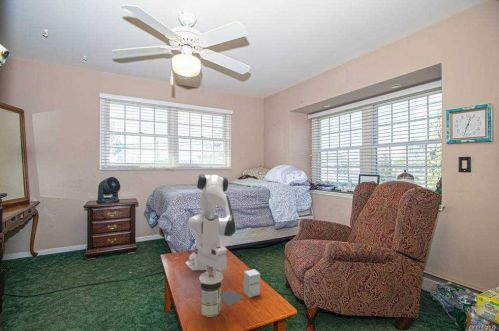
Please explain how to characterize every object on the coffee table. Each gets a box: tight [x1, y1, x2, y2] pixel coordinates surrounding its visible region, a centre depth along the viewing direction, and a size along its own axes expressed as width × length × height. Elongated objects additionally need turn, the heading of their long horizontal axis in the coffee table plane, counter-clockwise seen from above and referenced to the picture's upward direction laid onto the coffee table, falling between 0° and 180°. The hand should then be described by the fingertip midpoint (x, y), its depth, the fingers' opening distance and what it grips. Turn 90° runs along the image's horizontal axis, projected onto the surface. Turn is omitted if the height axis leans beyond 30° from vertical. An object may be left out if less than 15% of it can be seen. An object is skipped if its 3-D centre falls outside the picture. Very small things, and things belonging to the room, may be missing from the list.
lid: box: [198, 267, 224, 284], centre depth 123 cm, size 12×12×6 cm
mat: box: [221, 289, 245, 307], centre depth 135 cm, size 12×12×1 cm
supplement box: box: [243, 268, 261, 298], centre depth 140 cm, size 7×7×13 cm
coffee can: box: [200, 281, 222, 318], centre depth 123 cm, size 10×10×14 cm
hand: (211, 273), depth 123 cm, fingers closed on lid, 3 cm apart
